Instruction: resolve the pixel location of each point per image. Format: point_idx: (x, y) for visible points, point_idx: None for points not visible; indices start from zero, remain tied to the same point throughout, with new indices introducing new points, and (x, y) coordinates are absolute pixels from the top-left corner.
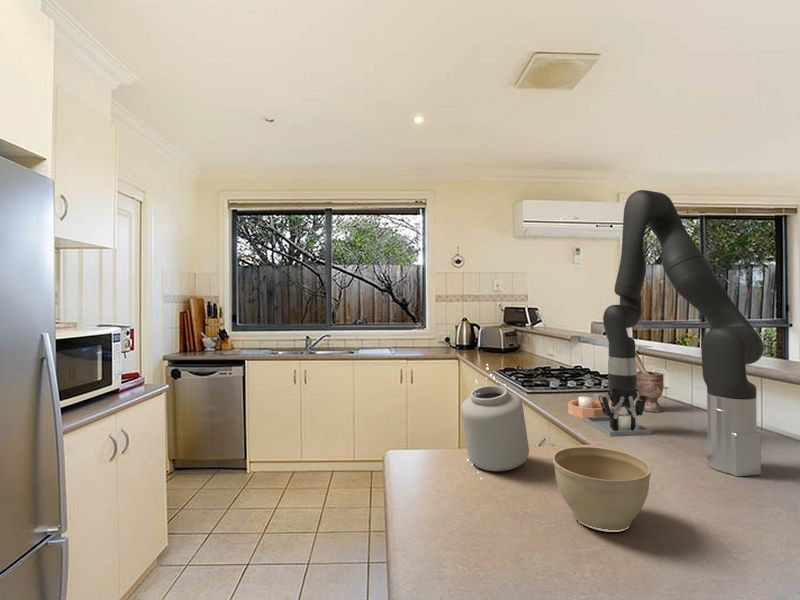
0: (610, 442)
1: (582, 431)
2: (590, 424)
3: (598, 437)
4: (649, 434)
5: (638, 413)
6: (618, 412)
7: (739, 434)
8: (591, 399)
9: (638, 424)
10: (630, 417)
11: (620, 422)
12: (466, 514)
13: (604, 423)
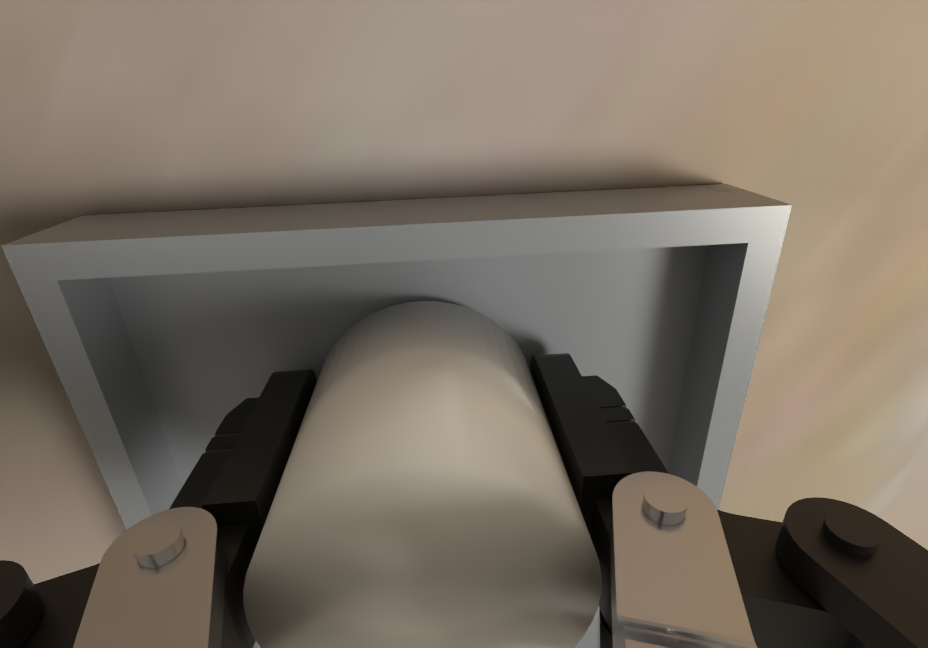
0: (835, 26)
1: (828, 464)
2: None
3: (822, 260)
4: (90, 222)
5: (14, 610)
6: (620, 606)
7: None
8: None
9: (131, 516)
10: (308, 478)
11: (530, 411)
12: None
13: None
